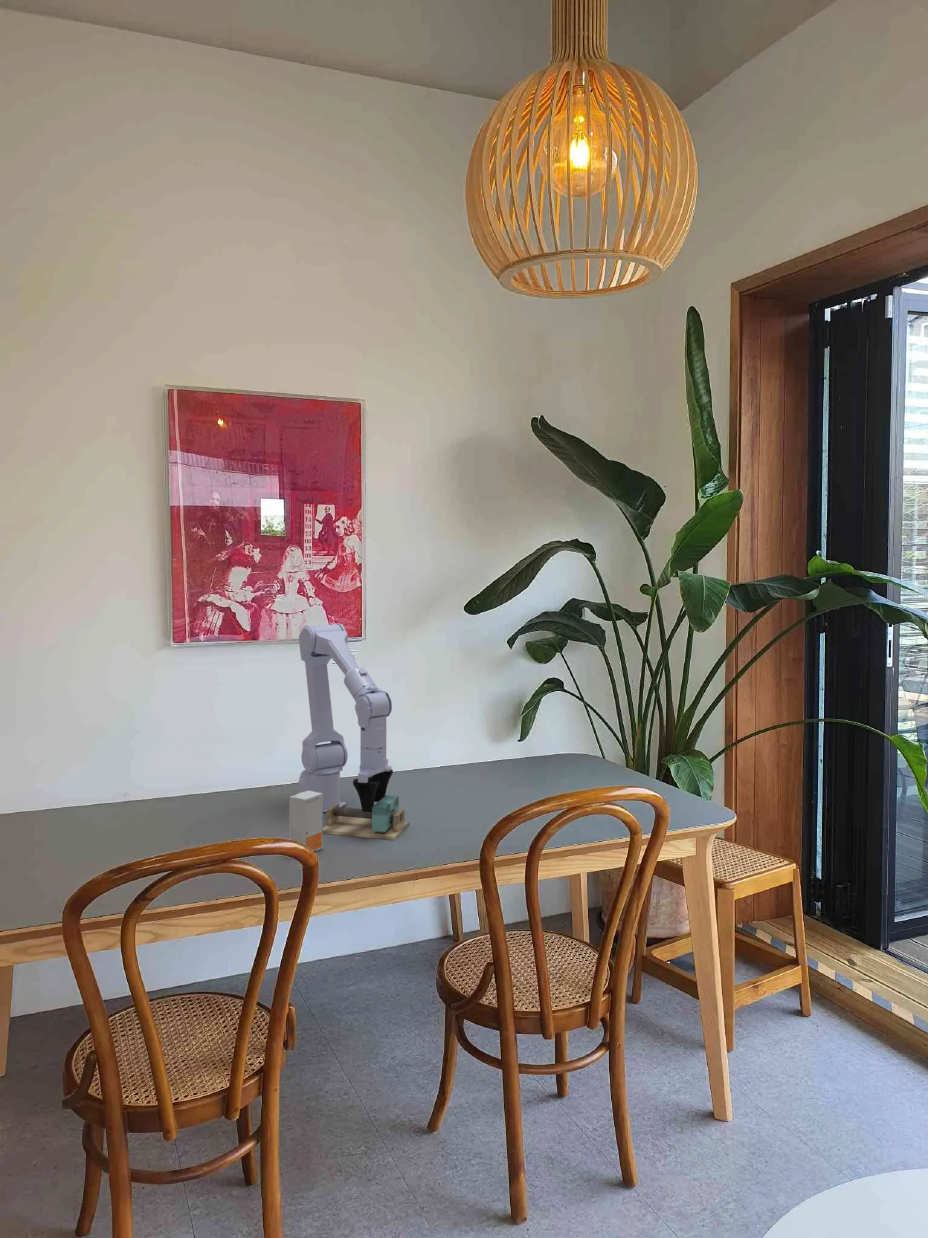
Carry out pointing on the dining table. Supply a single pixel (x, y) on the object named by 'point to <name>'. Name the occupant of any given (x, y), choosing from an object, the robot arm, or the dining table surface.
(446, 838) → the dining table surface
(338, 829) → the pipe jig
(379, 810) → the collar
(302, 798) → the skincare box
